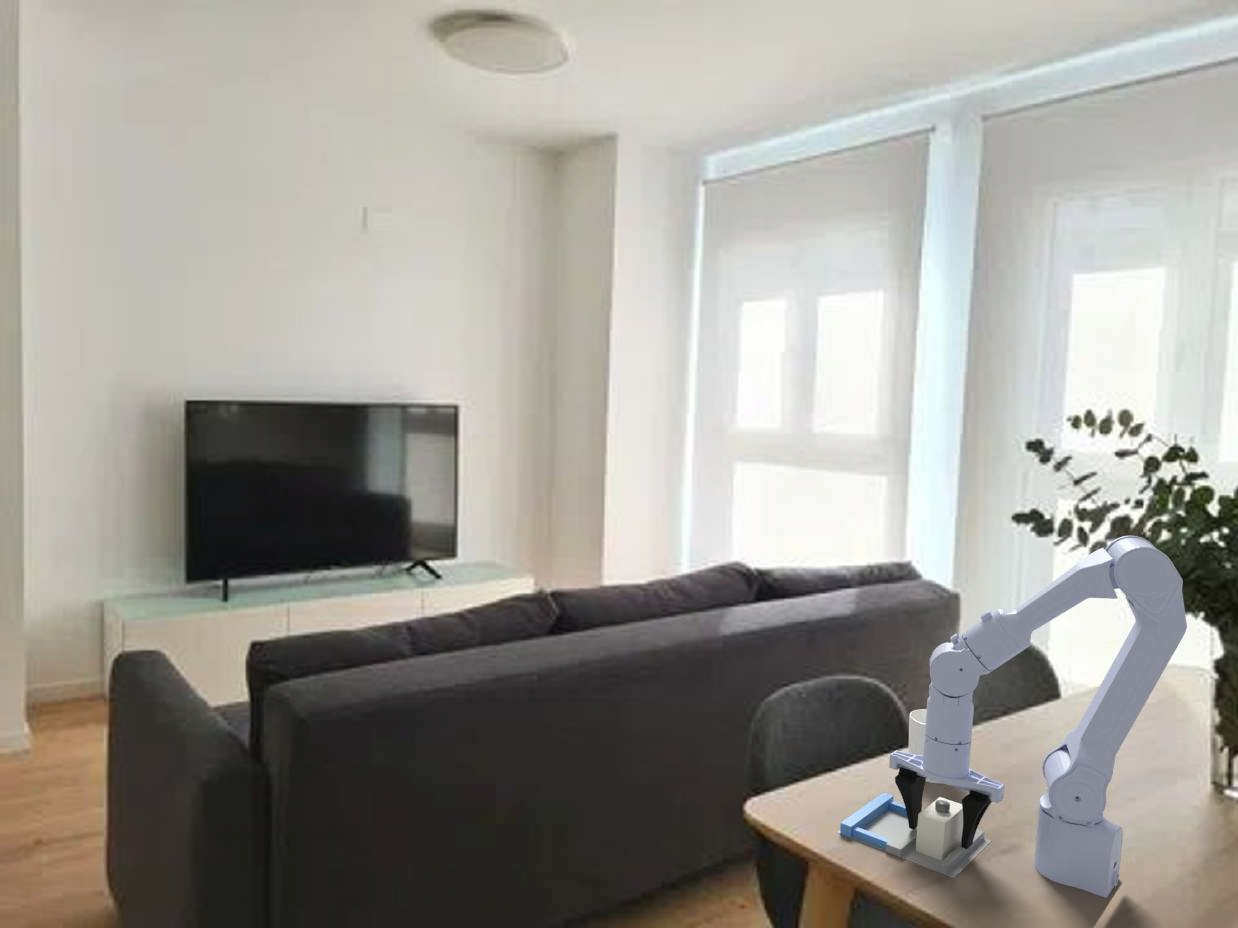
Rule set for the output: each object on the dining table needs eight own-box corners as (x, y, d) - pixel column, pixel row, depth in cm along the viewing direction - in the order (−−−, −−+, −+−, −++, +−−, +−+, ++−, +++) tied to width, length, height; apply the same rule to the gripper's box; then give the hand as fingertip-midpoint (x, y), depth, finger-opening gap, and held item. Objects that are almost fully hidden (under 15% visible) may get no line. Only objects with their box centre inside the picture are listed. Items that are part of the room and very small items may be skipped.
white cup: (923, 793, 140) (928, 729, 139) (895, 770, 147) (899, 710, 146) (968, 788, 142) (973, 725, 141) (938, 767, 150) (942, 707, 149)
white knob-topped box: (962, 841, 123) (966, 798, 123) (941, 860, 118) (945, 816, 118) (937, 831, 126) (940, 790, 125) (915, 850, 121) (918, 807, 120)
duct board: (991, 847, 124) (992, 829, 124) (953, 885, 114) (954, 866, 114) (879, 807, 134) (880, 791, 134) (836, 839, 125) (837, 821, 124)
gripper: (1015, 743, 119) (1007, 844, 120) (907, 713, 128) (900, 807, 130) (996, 759, 113) (987, 864, 115) (885, 726, 123) (878, 824, 124)
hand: (940, 835), depth 122 cm, fingers open, 6 cm apart
